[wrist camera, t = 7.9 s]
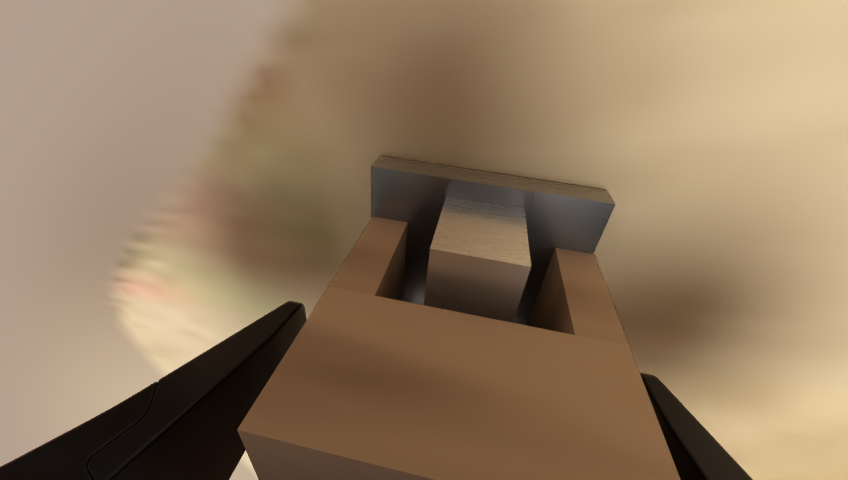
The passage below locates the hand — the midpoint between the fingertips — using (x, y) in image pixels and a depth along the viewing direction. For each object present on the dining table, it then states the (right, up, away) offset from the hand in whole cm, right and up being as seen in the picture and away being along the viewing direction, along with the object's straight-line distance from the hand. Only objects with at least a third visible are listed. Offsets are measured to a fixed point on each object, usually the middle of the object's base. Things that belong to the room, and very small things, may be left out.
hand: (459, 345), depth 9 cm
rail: (0, -3, +5) cm, 6 cm away
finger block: (0, +1, +1) cm, 2 cm away
